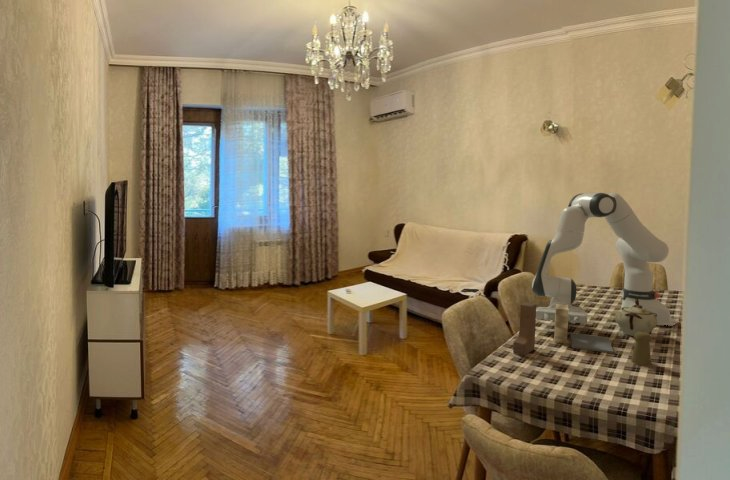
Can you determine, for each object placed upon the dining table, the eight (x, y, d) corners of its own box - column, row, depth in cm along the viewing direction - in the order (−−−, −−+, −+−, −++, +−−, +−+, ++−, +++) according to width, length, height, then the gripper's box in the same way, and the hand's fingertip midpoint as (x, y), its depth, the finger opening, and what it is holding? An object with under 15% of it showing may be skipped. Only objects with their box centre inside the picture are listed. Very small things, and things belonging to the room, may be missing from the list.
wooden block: (524, 356, 158) (526, 309, 156) (512, 352, 162) (514, 306, 159) (534, 349, 165) (536, 304, 162) (523, 346, 168) (525, 302, 165)
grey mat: (608, 339, 175) (608, 337, 175) (613, 353, 160) (613, 351, 160) (570, 334, 180) (570, 332, 180) (571, 347, 166) (572, 346, 166)
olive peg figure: (627, 359, 155) (629, 330, 153) (642, 358, 155) (645, 329, 154) (639, 366, 149) (641, 336, 147) (655, 365, 149) (657, 335, 148)
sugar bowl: (620, 324, 193) (622, 292, 191) (659, 331, 183) (662, 297, 181) (608, 335, 179) (611, 301, 177) (651, 344, 169) (654, 307, 167)
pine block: (566, 338, 177) (567, 305, 175) (566, 343, 170) (568, 309, 168) (554, 336, 178) (555, 304, 177) (554, 342, 172) (556, 308, 170)
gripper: (535, 301, 192) (533, 310, 179) (586, 306, 183) (588, 316, 171) (534, 315, 192) (533, 324, 180) (585, 321, 184) (587, 331, 172)
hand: (560, 320), depth 175 cm, fingers open, 8 cm apart
